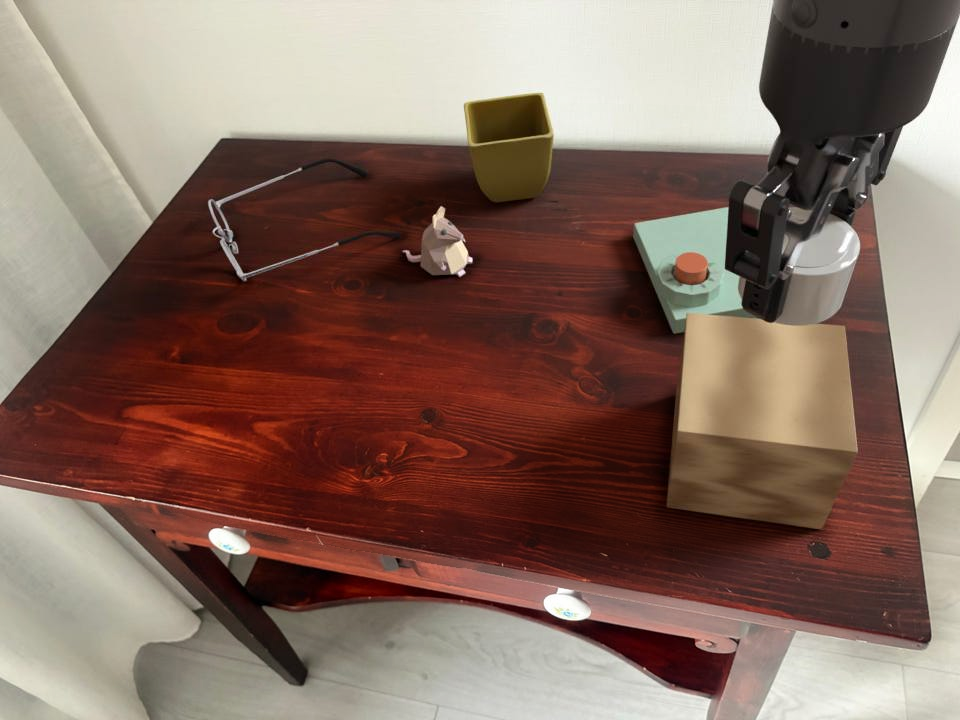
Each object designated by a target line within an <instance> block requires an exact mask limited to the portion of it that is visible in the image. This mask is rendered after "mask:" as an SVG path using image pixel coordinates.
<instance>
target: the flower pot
mask: <svg viewBox="0 0 960 720" xmlns="http://www.w3.org/2000/svg"><path fill="white" fill-rule="evenodd" d="M463 111H464V118H465V127H466V137H467V146H468V151H469V154H470V158H471V163H472V167H473V171H474V175H475V178H476V181H477V183H478V186H479V188H480V190H481V191H482V193H483V194H484V196H485V197H487V198H488V200H490V201H491V202H492V203H502V202H504V203H505V202H511V201H518V200H527V199H528V200H529V199H534V198H537V197H538V196H539V195H540V194H541V193H542V191H543V190H544V188H545V186H546V184H547V183H548V181H549V177H550V173H551V167H552V158H553V147H554V137H555V132H554V129H553V125H552V121H551V118H550V114H549V109H548V105H547V101H546V97H545V95H544V93H543V92H529V93H522V94H515V95H507V96H499V97H493V98H485V99H478V100H472V101H467V102H464V103H463Z"/></svg>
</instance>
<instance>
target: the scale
mask: <svg viewBox="0 0 960 720" xmlns="http://www.w3.org/2000/svg"><path fill="white" fill-rule="evenodd" d="M728 208H729V206H727V207H726V206H725V207H720V208H715V209H709V210H703V211H698V212H692V213H686V214H680V215H675V216H668V217H662V218H657V219H652V220H651V219H650V220H646V221H639V222H635V223H633V234H632V235H633V236H632V237H633V240H634V242H635V244H636V247H637V250H638V252H639V254H640V257H641V259H642V262H643V264H644V266H645V269H646V272H647V273H648V274H647V275H648V276H649V278H650V281H651V283H652V286H653V288H654V291H655V293H656V295H657V298H658V300H659V303H660V304H661V308H662V310H663V312H664V315H665V317H666V319H667V322H668V324H669V327H670V329H671V331H672V333H673V335H675V334H681V333H684V331H685V323H686V316H687V313H695V314H707V315H719V316H731V317H743V318H755V319H760V318H758V317H756V316H754V315H752V314H750V313H748V312H746V311H745V310H744V309H743V307H742V304H741V303H742V299H741V297H740V295H739V291H738V282H739V277H740V276H738V275H736V274H734V273H731V272H729V271H727V270H725V254H726V239H727V224H728ZM688 252H694V253H698V254H701V255H703V256H704V257H705V258H706V259H707V262H708V266H707V273H706V278H705V280H704V281H703V282H702V283H700V284H697V285H686V284H682V283H680V282H678V281H677V280H676V278H675V276H674V272H675V263H676V259H677V258H678V257H679V256H680V255H681V254H684V253H688Z"/></svg>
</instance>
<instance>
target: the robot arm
mask: <svg viewBox="0 0 960 720" xmlns="http://www.w3.org/2000/svg"><path fill="white" fill-rule="evenodd" d="M959 18H960V0H773V1H772V6H771V13H770V18H769V23H768V30H767V35H766V41H765V46H764V47H765V48H764V53H763V60H762V66H761V71H760V76H759V83H758V91H759V92H758V93H759V97H760V99H761V102H762V104H763V105H764V106H765V108H766V109H767V111H768V112H769V113H770V114H771V116H772V117H773V119H774V120H775V122H776V124H777V126H778V129H779V133H778V135H777V137H776V139H775V140H774V142H773V144H772V147H771V149H770V152H769V154H768V157H767V159H766V160H767V161H766V163H767V171H766V174H765V176H764V177H762V179H761V180H760V181H759V182H758V183H757V184H753V183H750V182H749V181H746V180H743V179H740V180H738V181H737V182H736V183H735V184H734V186H733V187H732V189H731V191H730V194H729V197H728V207H729V208H728V224H727V239H726V254H725V270H727V271H729V272H731V273H734V274H736V275H738V276H740V277H742V278H744V279H746V282H745V287H744V292H743V297H742V303H741V304H742V307H743V309H744V310H745V311H746V312H748V313H750V314H752V315H754V316H756V317H758V318H760V319H762V320H764V321H766V322H768V323H773V322H775V321H776V320H777V319H778V318H779V317H780V316H781V314H782V312H783V308H784V304H785V300H786V296H787V292H788V288H789V284H790V280H791V277H792V273H793V271H794V266H795V264H796V262H797V260H798V258H799V255H800V253H801V251H802V249H803V247H804V245H805V242H806V241H807V240H811V239H814V238H816V237H818V236H819V235H820V233H821V231H822V229H823V226H824V224H825V222H826V220H827V218H828V216H829V214H832V215H835V216H837V217H839V218H840V219H842V220H843V221H845V222H846V223H848V224H849V225H850V226H851V227H852V223H853V221H854V218H855V215H856V212H857V210H860V208H861V207H862V206H863V205H865V203H866V201H867V199H868V195H869V187H870V185H873V186H878V185H879V184H880V183H881V181H883V180H884V179H885V177H886V175H887V170H888V167H889V164H890V162H891V159H892V157H893V154H894V151H895V149H896V146H897V144H898V141H899V138H900V136H901V133H902V132H903V131H902V130H903V128H904V126H906V125H908V124H911V122H913V121H914V120H916V118H918V117H919V116H920V115H921V114H922V113H923V112H924V111H925V109H926V108H927V106H928V104H929V103H930V100H931V97H932V95H933V92H934V89H935V86H936V83H937V81H938V78H939V74H940V71H941V69H942V66H943V63H944V61H945V58H946V55H947V52H948V49H949V48H950V47H949V46H950V43H951V41H952V38H953V35H954V33H955V30H956V27H957V25H958V21H959ZM790 206H792V207H798V208H800V209H803V210H806V211H811V210H812V211H811V213H810V216H809V218H808V219H807V221H805V220H803V219H800V218H798V217H795V216H793V215H792V212H791V211H790V210H788V208H790ZM785 234H786V235H787V236H788V238H789V240H788V243H787V246H786V248H785V250H784V252H783V254H782V248H783V242H784V235H785Z"/></svg>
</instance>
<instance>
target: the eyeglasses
mask: <svg viewBox="0 0 960 720" xmlns="http://www.w3.org/2000/svg"><path fill="white" fill-rule="evenodd" d="M325 163H335V164H338V165H340V166H342V167H343V168H346V169H347V170H349V171H351V172H353V173H355V174H357V175H358V176H360V177H362V178H365V179H366V178H367V176H368V172H366V171H365V170H363V169H360V168H358V167H356V166H354V165H351V164H348V163H346V162H343V161H341V160H339V159H335V158H325V159H320V160H317V161H314V162H311V163H309V164H305V165H303V166H300V167H298V168H297V169H296V170H293V171H292V172H289V173H287V174H285V175H280V176H277V177H275V178H272V179H269V180H267V181H265V182H263V183H260V184H257V185H254V186H252V187H250V188H247V189H245V190H242V191H240V192H236V193H234V194H232V195H229V196H227V197H225V198H222V199H220V200H217V201H215V200H214V199H212V198H211V199H208V201H207V205H208V208H209V211H210V214H211V217H212V219H213V222H214V223H215V225H216V227H215V228H214V229H213V230H212V234H213V236H215V237H217V238H218V239H220V240H219V243H220V246H221V247H222V249H223V251H224V253H225V255H226V257H227V258H228V260H229V262H230V263H231V265H232V266H233V268H234V270H235V271H236V275H237V276H238V278H240V279H241V280H242V281H243V282H244V283H245V282H247V279H248V278H250V277H253V276H256V275H259V274H261V273H264V272H268V271H271V270H273V269H276V268H279V267H281V266H285V265H288V264H290V263H293V262H296V261H298V260H302V259H304V258H307V257H310V256H313V255H316V254H318V253H320V252H322V251H325V250H328V249H330V248H334V247H339V246H343V245H346V244H349V243H351V242H354V241H356V240H359V239H362V238H364V237H368V236H375V235H376V236H380V237H381V236H382V237H387V238H396V239H401V238H402V237H403V234H404V232H398V231H397V232H395V231H394V232H393V231H378V230H376V231H375V230H373V231H366V232H363V233H359V234H356V235H354V236H351V237H348V238H345V239H342V240H339V241H337V242H335V243H334V244H332V245H329V246H326V247H324V248H321V249H315V250H312V251H310V252H306V253H304V254H300V255H298V256H295V257H292V258H289V259H286V260H283V261H280V262H277V263H274V264H272V265H268V266H265V267H262V268H259V269H256V270H254V271H251V272H248V273H245V272H243V270H242V268H241V266H240V265H239V263H238V262H237V259H236V258H235V256H234V254H235V255H237V254H239V248H238V244H237V242H236V241H233V237H234V232H233V231H232V229H230V226H229V224H228V221H227V220H226V218H225V215H224V213H223V212H222V210H221V206H222V204H225V203H226V202H228V201H231V200H234V199H236V198H238V197H241V196H243V195H246V194H248V193H251V192H253V191H255V190H258V189H260V188H262V187H266V186H267V185H270V184H272V183H275V182H277V181H280V180H282V179H284V178H285V177H287V176H290V175H293V174H295V173H297V172H303V171H306V170H307V169H310V168H313V167H316V166H319V165H322V164H325ZM212 204H213V205H214V207H215V209H216V210H217V211H218V213H219V215H220V217H221V219H222V221H223V223H224V226H225V228H224V229H223V228H222V227H221V225H220V223H219V222H218V219H217V218H216V215H215V212H214V209H213V205H212ZM216 231H217V233H218V234H219V235H220V236H219V235H217V234H216V233H215V232H216ZM225 231H227V232H225ZM227 243H228V244H227ZM230 246H231V248H230Z"/></svg>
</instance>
